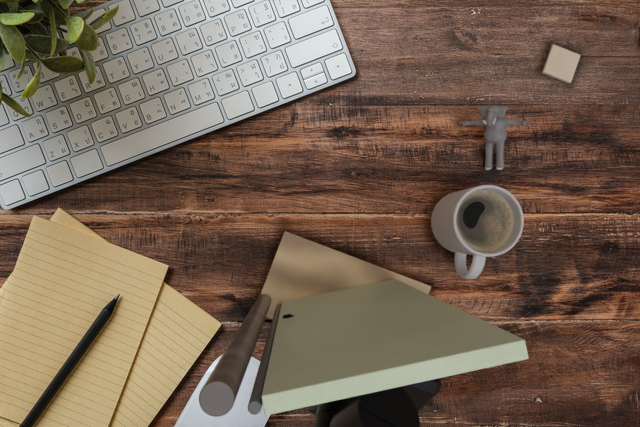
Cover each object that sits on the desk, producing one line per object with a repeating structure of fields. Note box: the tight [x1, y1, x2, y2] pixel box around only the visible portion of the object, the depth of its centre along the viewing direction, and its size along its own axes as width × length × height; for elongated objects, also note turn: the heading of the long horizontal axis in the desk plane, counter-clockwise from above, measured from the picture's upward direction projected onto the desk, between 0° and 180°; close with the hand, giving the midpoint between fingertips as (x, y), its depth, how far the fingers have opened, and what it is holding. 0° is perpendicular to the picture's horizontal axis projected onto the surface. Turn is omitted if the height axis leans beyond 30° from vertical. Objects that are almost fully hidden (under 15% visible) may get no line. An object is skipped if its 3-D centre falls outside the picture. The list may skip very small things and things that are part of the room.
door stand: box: [198, 230, 432, 418], centre depth 47 cm, size 12×22×40 cm, turn 69°
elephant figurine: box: [458, 104, 534, 171], centre depth 67 cm, size 10×6×9 cm
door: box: [247, 279, 530, 416], centre depth 47 cm, size 2×17×38 cm, turn 101°
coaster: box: [541, 43, 582, 84], centre depth 70 cm, size 4×4×1 cm
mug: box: [430, 184, 525, 280], centre depth 64 cm, size 11×10×10 cm
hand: (363, 305), depth 60 cm, fingers closed
